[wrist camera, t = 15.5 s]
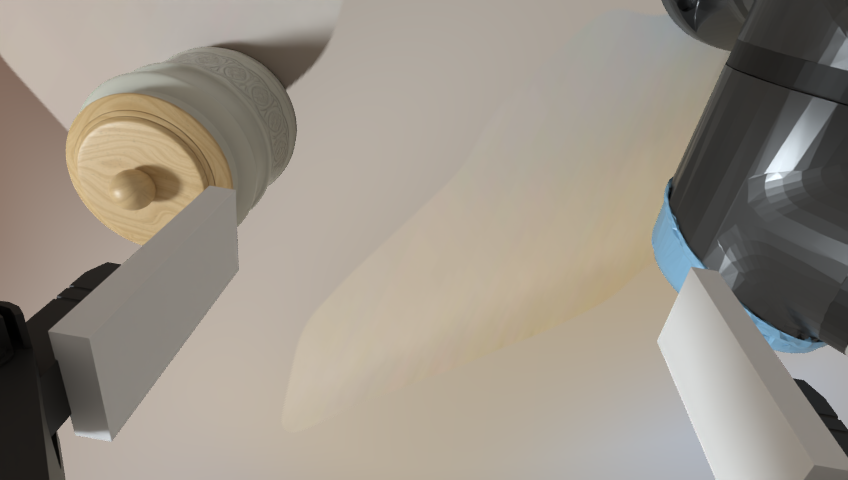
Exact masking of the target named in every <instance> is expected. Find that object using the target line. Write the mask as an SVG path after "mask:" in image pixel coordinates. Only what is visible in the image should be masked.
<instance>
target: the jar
mask: <svg viewBox="0 0 848 480" xmlns="http://www.w3.org/2000/svg"><path fill="white" fill-rule="evenodd" d="M296 132H297V125H296V117H295V112H294V109H293V106H292V103H291V101H290V98H289V96H288V94H287V92H286V90H285V89H284V87H283V86H282V84H281V83H280V81H279V80H278V79H277V78H276V77H275V76H274V74H273V73H272V72H271V71H270V70H268V69H267V68H266V67H265V66H264V65H262V64H261V63H260V62H258V61H257V60H255V59H253V58H251V57H250V56H248V55H245V54H243V53H240V52H238V51H234V50H230V49H225V48H217V47H200V48H194V49H190V50H187V51H184V52H181V53H178V54H176V55H174V56H172V57H171V58H169V59H168V60H166V61H164V62H162V63H154V64H150V65H146V66H143V67H140V68H138V69H136V70H134V71H132V72H131V73H126V74H122V75H119V76H116V77H114V78H111V79H109V80H107V81H106V82H104V83H103V84H101V85H100V86H98V87H97V88H96V89H95V90H94V91H93V92H92V93H91V94H90V95H89V97H88V98H87V100H86V101H85V103H84V105H83V106H82V108H81V111H80V113H79V114H78V115H77V117H76V118H75V120H74V121H73V123H72V125H71V127H70V130H69V133H68V136H67V142H66V161H67V166H68V171H69V174H70V177H71V180H72V182H73V185H74V187H75V189H76V191H77V193H78V194H79V196H80V198H81V199H82V201H83V202H84V204H85V205H86V206H87V207H88V209H89V210H90V211H91V212H92V213H93V214H94V215H95V216H96V217H97V218H98V219H99V220H100V221H101V222H102V223H103V224H104V225H106V226H107V227H108V228H110V229H111V230H112V231H114V232H115V233H117V234H119V235H120V236H122V237H124V238H126V239H128V240H130V241H132V242H134V243H137V244H140V245H144V244H145V243H146V242H147V241H149V240H150V239H151V238H152V237H153V236H154V235H155V234H156V233H157V232H158V231H160V230H161V229H162V228H163V227H164V226H165V225H166V224H167V223H168V222H170V221H171V220H172V219H173V218H174V217H175V216H176V215H177V214H178V213H180V212H181V211H182V210H183V209H184V208H185V207H186V206H187V205H188V204H190V203H191V202H192V201H193V200H194V199H195V198H196V197H197V196H198V195H199V194H201V193H202V192H203V191H204V190H205V189H206V188H207V187H208V186H215V187H221V188H227V189H233V190H236V213H237V227H238V226H239V225H240V224H241V223H242V221H243V220H244V219H245V217H246V216H247V214H248V213H249V211H250V210H251V209H252V208H253V207H254V206H255V205H256V204H257V203H258V202H259V201H260V199H261V198H262V196H263V195H264V193H265V191H266V189H267V187H268V186H269V185H270V184H271V183H273V182H274V181H275V180H276V179H277V178H278V177H279V176H280V174H281V173H282V172H283V171H284V169H285V168H286V166H287V165H288V163H289V161H290V159H291V156H292V154H293V150H294V146H295V141H296Z"/></svg>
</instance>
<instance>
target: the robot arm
mask: <svg viewBox="0 0 848 480" xmlns="http://www.w3.org/2000/svg"><path fill="white" fill-rule="evenodd" d="M662 3H663V5H664V7H665V9H666V11H667V12H668V14H669V15H670V17H671V18H672V19H673V21H674V22H675V23H676V24H677V25H678V26H679V27H680V28H681V29H682V30H683V31H684V32H686V33H687V34H688V35H690V36H691V37H693V38H695V39H697V40H699V41H701V42H703V43H706V44H708V45H711V46H714V47H716V48H719V49H723V50H728V51H731V54H730V56H729V58H728V60H727V62H726V63H725V65H724V68H723V70H722V72H721V74H720V76H719V79H718V81H717V83H716V85H715V87H714V90H713V92H712V94H711V96H710V98H709V100H708V103H707V105H706V107H705V109H704V111H703V114H702V116H701V118H700V120H699V122H698V125H697V127H696V129H695V131H694V133H693V136H692V138H691V140H690V142H689V144H688V146H687V149H686V151H685V153H684V155H683V157H682V160H681V162H680V164H679V166H678V168H677V171H676V173H675V175H674V176H673V177H672V178H671V179H670V180H669V182H668V184H667V186H666V189H665V193H664V203H663V205H662V208H661V211H660V213H659V216H658V218H657V221H656V223H655V226H654V229H653V233H652V245H653V248H654V254H655V259H656V262H657V264H658V266H659V268H660V269H661V271H662V273H663V275H664V276H665V278H666V279H667V280H668V282H669V283H670V284H671V285H672V286H673V288H674V289H675V290H676V291H677V292H678V293H679V294H678V297H677V299H676V301H675V303H674V305H673V308H672V310H671V312H670V314H669V316H668V319H667V321H666V323H665V325H664V327H663V330H662V332H661V334H660V336H659V339H658V341H657V342H658V345H659V347H660V349H661V352H662V354H663V356H664V359H665V361H666V363H667V366H668V368H669V370H670V373H671V375H672V377H673V380H674V382H675V385H676V387H677V389H678V392H679V394H680V397H681V399H682V401H683V404H684V406H685V408H686V411H687V413H688V415H689V418H690V420H691V422H692V425H693V427H694V430H695V432H696V434H697V437H698V439H699V441H700V444H701V446H702V448H703V451H704V453H705V455H706V458H707V460H708V462H709V465H710V467H711V470H712V472H713V474H714V477H715V479H716V480H848V429H847V428H846V427H845V425H844V424H843V422H842V421H841V420H838V416H837V414H836V413H835V412H834V410H833V409H832V408H831V406H830V405H829V403H828V402H827V401H826V399H825V398H824V397H823V396H821V395H820V394H819V393H818V392H817V391H816V390H815V389H813V388H812V387H811V386H810V385H809V384H808V383H806V382H805V381H804V380H799V379H793V378H792V377H791V375H790V374H789V372H788V371H787V369H786V368H785V367H784V365H783V364H782V362H781V361H780V359H779V358H778V357H777V355H776V354H775V352H774V351H773V350H776V351H780V352H787V353H807V352H811V351H814V350H816V349H817V348H820V347H823V346H826V345H827V344H828V345H830V346H832V347H833V348H835V349H837V350H838V351H840V352H842V353H843V354H845V355H847V356H848V0H662ZM238 270H239V266H238V239H237V213H236V190H233V189H227V188H221V187H215V186H208V187H207V188H206V189H205V190H204V191H203V192H202V193H201V194H199V195H198V196H197V197H196V198H195V199H194V200H193V201H192V202H191V203H190V204H188V205H187V206H186V207H185V208H184V209H183V210H182V211H181V212H180V213H178V214H177V215H176V216H175V217H174V218H173V219H172V220H171V221H170V222H168V223H167V224H166V225H165V226H164V227H163V228H162V229H161V230H160V231H158V232H157V233H156V234H155V235H154V236H153V237H152V238H151V239H150V240H149V241H147V242H146V243H145V244H144V245H143V246H142V247H141V248H140V249H139V250H137V251H136V252H135V253H134V254H133V255H132V256H131V257H130V258H129V259H127V260H126V261H125V262H124V263H123V264H122V265H121V264H115V263H109V262H107V263H105V264H102V265H101V266H98V267H96V268H94V269H91V270H89V271H87V272H85V273H84V274H83V275H82V276H80V277H79V278H78V279H77V280H76V281H74V282H73V283H72V284H71V285H70V288H66V289H65V290H64V291H62V293H60V294H59V295H58V296H57V299H53V300H52V301H51V302H50V303H48V304H47V305H46V306H45V307H43V308H42V309H41V310H40V311H39V312H38V313H36V314H35V315H34V316H33V317H31V318H30V319H29V320H28V321H27V322H25V319H24V315H23V313H22V311H21V309H20V308H19V306H17V305H14V304H12V303H10V302H4V301H0V480H65V473H64V467H63V460H62V454H61V447H60V441H59V437H58V434H57V430H58V429H59V428H60V426H61V425H62V424H63V423H64V422H65V421H66V420H67V418H68V417H69V416H70V417H71V420H72V424H73V428H74V432H75V435H78V436H83V437H89V438H95V439H100V440H106V441H112V440H113V439H114V438H115V436H116V435H117V433H118V432H119V431H120V430H121V428H122V427H123V426H124V424H125V423H126V421H127V420H128V419H129V417H130V416H131V415H132V413H133V412H134V411H135V409H136V408H137V407H138V405H139V404H140V403H141V401H142V400H143V398H144V397H145V396H146V394H147V393H148V392H149V390H150V389H151V388H152V386H153V385H154V384H155V382H156V381H157V379H158V378H159V377H160V376H161V374H162V373H163V371H164V370H165V369H166V367H167V366H168V365H169V363H170V362H171V361H172V359H173V358H174V356H175V355H176V354H177V352H178V351H179V350H180V348H181V347H182V346H183V344H184V343H185V342H186V340H187V339H188V338H189V336H190V335H191V334H192V332H193V331H194V330H195V328H196V327H197V326H198V324H199V323H200V321H201V320H202V319H203V317H204V316H205V315H206V313H207V312H208V311H209V309H210V308H211V306H212V305H213V304H214V303H215V301H216V300H217V298H218V297H219V296H220V294H221V293H222V292H223V290H224V289H225V288H226V286H227V285H228V283H229V282H230V281H231V280H232V278H233V277H234V276H235V274H236V273H237V272H238Z"/></svg>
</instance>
